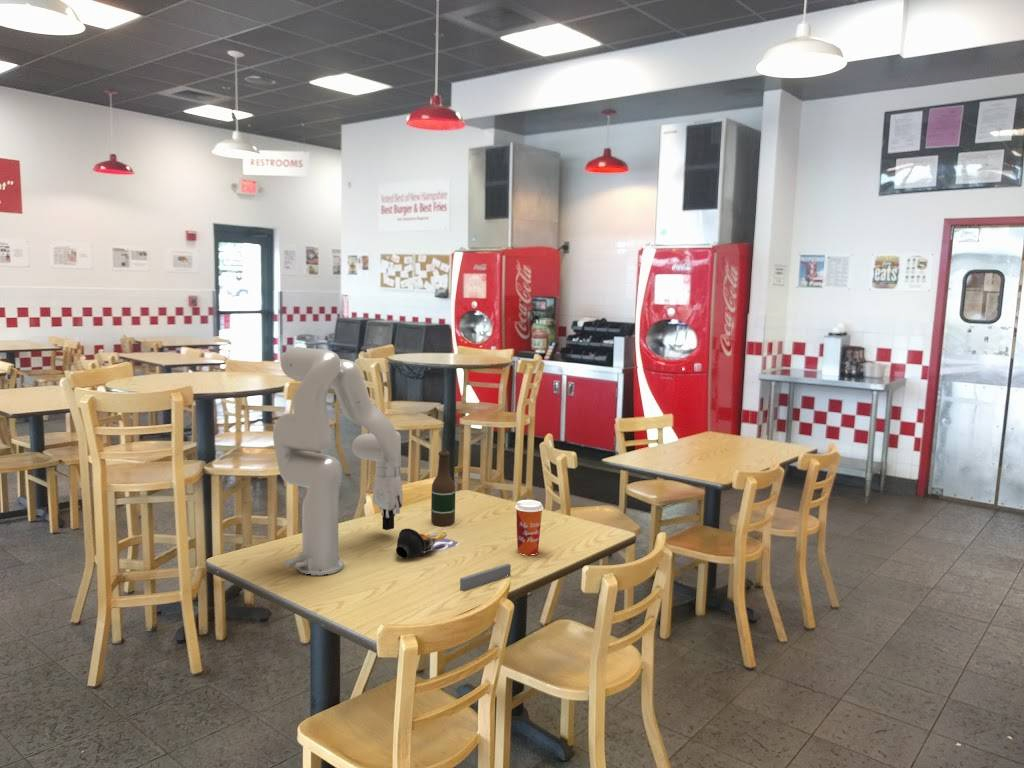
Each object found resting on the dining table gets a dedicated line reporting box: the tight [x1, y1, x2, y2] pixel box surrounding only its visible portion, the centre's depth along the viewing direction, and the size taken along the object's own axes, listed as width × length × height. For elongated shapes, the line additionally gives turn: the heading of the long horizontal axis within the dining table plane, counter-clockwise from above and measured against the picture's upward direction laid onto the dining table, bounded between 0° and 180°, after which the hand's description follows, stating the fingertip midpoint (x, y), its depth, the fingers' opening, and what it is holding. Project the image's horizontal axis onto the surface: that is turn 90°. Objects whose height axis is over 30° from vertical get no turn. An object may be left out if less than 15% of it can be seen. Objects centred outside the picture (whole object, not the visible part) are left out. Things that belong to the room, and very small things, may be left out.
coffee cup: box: [515, 499, 544, 555], centre depth 224 cm, size 8×8×15 cm
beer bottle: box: [430, 450, 456, 528], centre depth 248 cm, size 8×8×24 cm
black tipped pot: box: [395, 528, 448, 560], centre depth 222 cm, size 9×11×18 cm
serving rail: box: [459, 563, 512, 591], centre depth 202 cm, size 17×1×3 cm, turn 133°
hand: (388, 528), depth 235 cm, fingers closed
